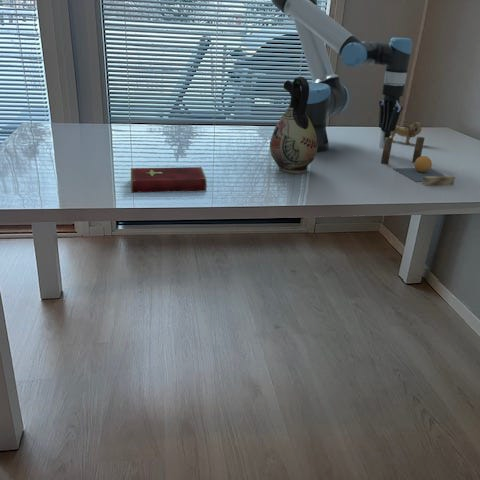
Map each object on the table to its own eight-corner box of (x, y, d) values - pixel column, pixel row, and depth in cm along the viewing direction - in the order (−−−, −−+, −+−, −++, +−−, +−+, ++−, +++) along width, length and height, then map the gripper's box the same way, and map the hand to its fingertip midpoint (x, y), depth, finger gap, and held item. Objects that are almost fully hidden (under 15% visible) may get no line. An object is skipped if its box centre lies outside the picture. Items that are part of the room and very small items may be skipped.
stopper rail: (425, 185, 152) (427, 178, 151) (421, 183, 153) (423, 176, 152) (453, 184, 154) (455, 177, 153) (449, 182, 156) (451, 175, 155)
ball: (414, 153, 164) (409, 167, 167) (424, 161, 160) (418, 176, 163) (427, 152, 165) (422, 166, 169) (437, 160, 161) (431, 174, 165)
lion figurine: (418, 143, 204) (422, 121, 200) (418, 146, 199) (422, 124, 196) (382, 139, 208) (386, 117, 205) (381, 141, 204) (385, 120, 200)
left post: (383, 164, 172) (387, 139, 168) (379, 162, 174) (383, 137, 170) (389, 164, 173) (394, 139, 169) (386, 162, 175) (390, 137, 171)
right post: (414, 163, 175) (419, 138, 171) (410, 161, 177) (415, 136, 173) (420, 163, 176) (426, 138, 172) (416, 161, 178) (421, 136, 174)
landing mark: (415, 182, 155) (415, 181, 155) (393, 169, 167) (393, 168, 167) (453, 180, 158) (453, 179, 158) (428, 167, 170) (428, 167, 170)
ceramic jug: (260, 164, 165) (266, 72, 152) (301, 162, 170) (310, 72, 157) (282, 180, 151) (290, 79, 138) (325, 176, 156) (337, 79, 143)
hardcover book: (206, 192, 139) (206, 178, 137) (131, 194, 135) (130, 180, 133) (201, 179, 150) (201, 166, 148) (131, 180, 146) (130, 167, 144)
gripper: (413, 86, 171) (400, 152, 181) (394, 81, 182) (383, 143, 192) (394, 86, 169) (382, 153, 179) (376, 81, 180) (366, 144, 190)
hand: (383, 148), depth 185 cm, fingers closed
